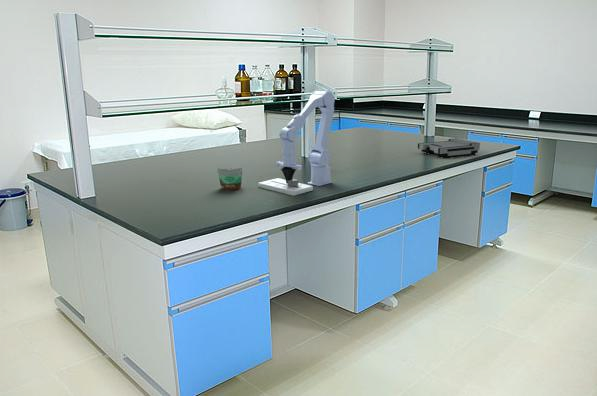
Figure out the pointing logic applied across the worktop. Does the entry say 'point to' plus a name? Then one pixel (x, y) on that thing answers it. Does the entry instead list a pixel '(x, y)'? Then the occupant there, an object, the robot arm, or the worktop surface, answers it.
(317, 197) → the worktop surface
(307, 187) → the fader console
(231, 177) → the food container
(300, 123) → the robot arm
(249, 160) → the worktop surface
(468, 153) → the game console
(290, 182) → the fader tab
